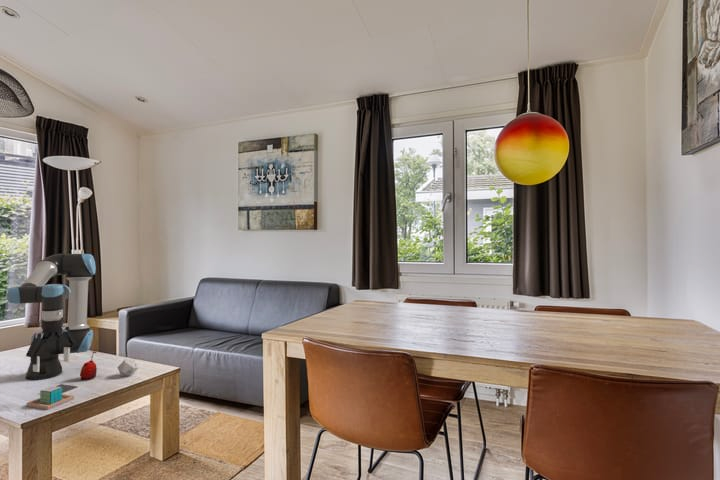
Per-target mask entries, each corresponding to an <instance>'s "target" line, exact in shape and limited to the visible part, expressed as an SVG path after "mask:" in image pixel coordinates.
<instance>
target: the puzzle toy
mask: <svg viewBox="0 0 720 480" xmlns="http://www.w3.org/2000/svg"><path fill="white" fill-rule="evenodd" d="M56 386H57V385H55V386H53V385H51V386H48V387H46V388H43V389H41V390H39V391H40V392H39V395H40V396H39V398H40V403H43V404H52V403H55V402H57V401H60V400H62V387H56Z"/></svg>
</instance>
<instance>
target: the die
mask: <svg viewBox="0 0 720 480" xmlns="http://www.w3.org/2000/svg"><path fill="white" fill-rule="evenodd" d="M138 369H139V366H138V364H137V361H136V359H127V358H126V359H124V360H122V362H121V363H120V364H119V365H118V366H117V370H118V372H119V374H120V376H121V377H132V376H133V375H134V374H135V372H137V370H138Z"/></svg>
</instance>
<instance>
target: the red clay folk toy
mask: <svg viewBox="0 0 720 480" xmlns="http://www.w3.org/2000/svg"><path fill="white" fill-rule="evenodd" d="M94 354H97V351H96V349H94V350H93V351H92V355H91V356H90V357H91V359H90V360H89V361H87V362H85V363H83V365H82V367H81V369H80V373H79V376H80V381H89V380H92V379H95V378H96V377H97V372H98V371H97V370H98V367H97V363H95V362H94V360H93V358H94V356H93V355H94Z"/></svg>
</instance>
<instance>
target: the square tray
mask: <svg viewBox="0 0 720 480" xmlns="http://www.w3.org/2000/svg"><path fill="white" fill-rule="evenodd" d="M72 400H75V395H74V394H73V395H72V394H62V400H60V401H57V402H55V403H52V404H43V403H40V397H39V398H37V399H34V400H31V401H28V402H26V407H27V408H28V407H29V408H35V409H41V410H47V411H48V410H52V409H53V408H55V407H58V406H61V405H63V404H65V403H68V402H70V401H72Z"/></svg>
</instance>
